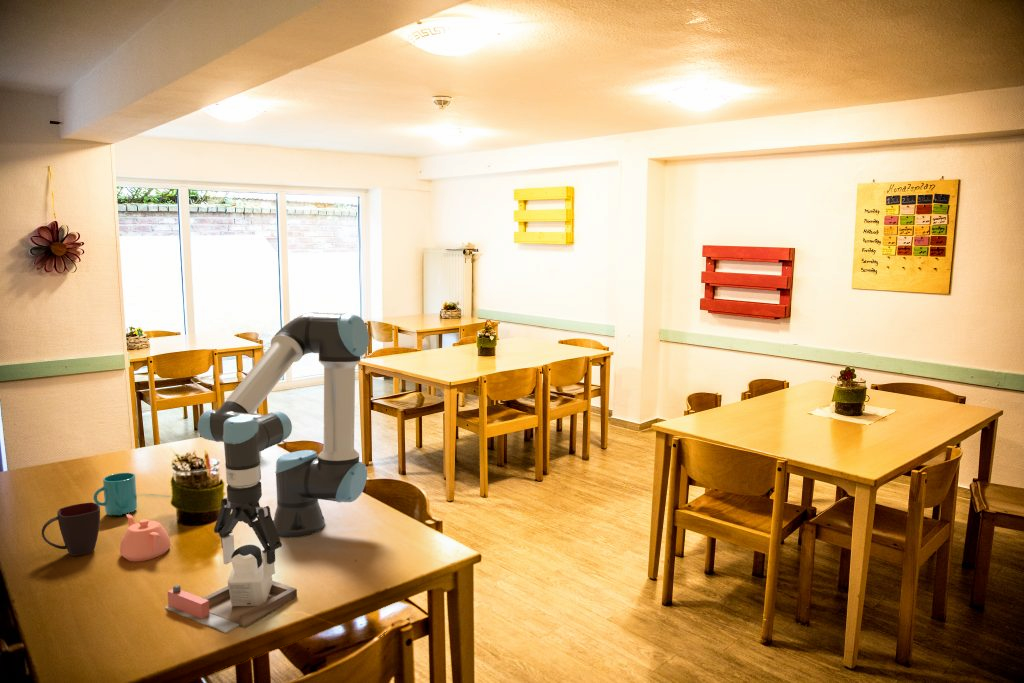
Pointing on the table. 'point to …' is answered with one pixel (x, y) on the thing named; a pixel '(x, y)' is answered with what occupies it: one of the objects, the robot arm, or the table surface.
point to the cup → (118, 494)
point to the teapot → (144, 540)
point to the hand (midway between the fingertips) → (248, 568)
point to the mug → (77, 527)
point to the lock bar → (188, 602)
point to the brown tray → (240, 608)
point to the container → (248, 577)
